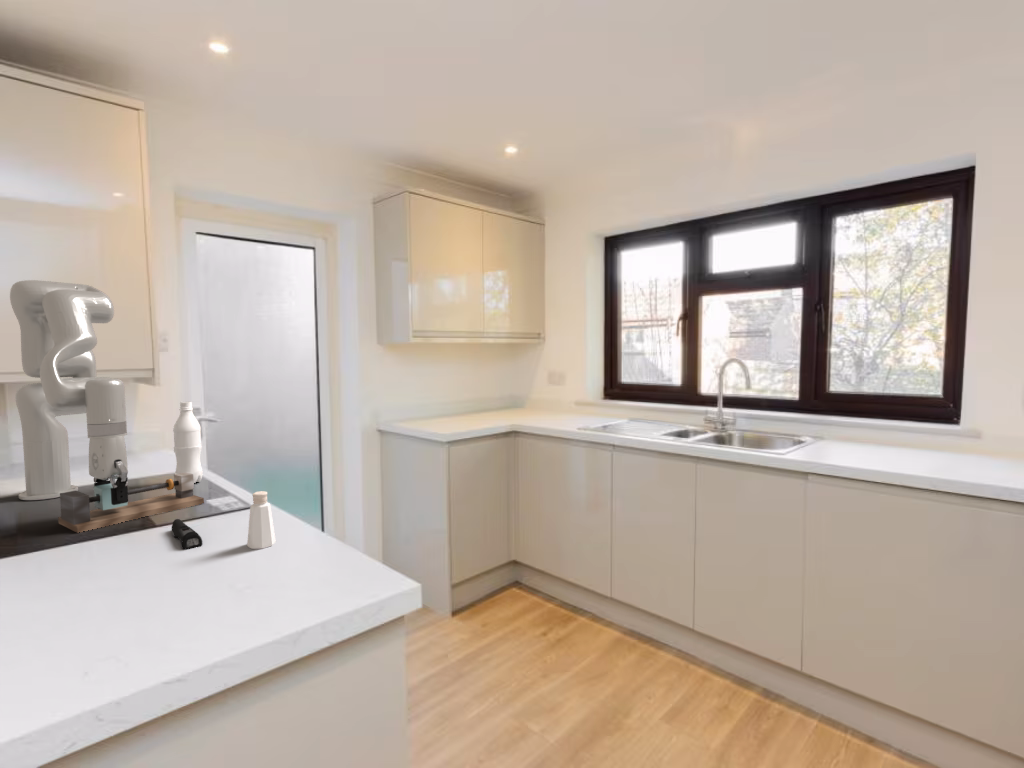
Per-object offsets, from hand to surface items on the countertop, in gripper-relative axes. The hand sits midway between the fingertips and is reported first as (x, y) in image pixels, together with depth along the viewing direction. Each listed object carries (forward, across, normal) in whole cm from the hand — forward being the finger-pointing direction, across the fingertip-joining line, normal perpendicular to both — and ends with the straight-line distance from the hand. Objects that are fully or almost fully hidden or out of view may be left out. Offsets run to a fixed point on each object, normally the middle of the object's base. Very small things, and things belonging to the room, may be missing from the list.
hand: (111, 500), depth 127 cm
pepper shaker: (+5, +47, +10) cm, 48 cm away
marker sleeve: (+1, 0, 0) cm, 1 cm away
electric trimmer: (+5, +30, +3) cm, 30 cm away
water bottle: (+4, -20, +27) cm, 34 cm away
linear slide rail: (+4, 0, +5) cm, 7 cm away
